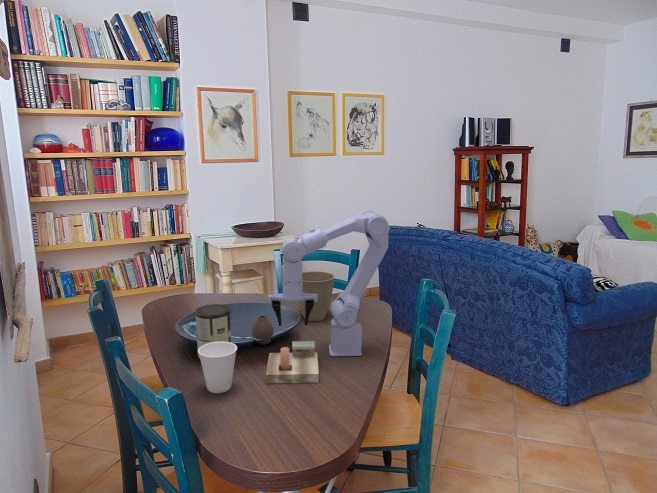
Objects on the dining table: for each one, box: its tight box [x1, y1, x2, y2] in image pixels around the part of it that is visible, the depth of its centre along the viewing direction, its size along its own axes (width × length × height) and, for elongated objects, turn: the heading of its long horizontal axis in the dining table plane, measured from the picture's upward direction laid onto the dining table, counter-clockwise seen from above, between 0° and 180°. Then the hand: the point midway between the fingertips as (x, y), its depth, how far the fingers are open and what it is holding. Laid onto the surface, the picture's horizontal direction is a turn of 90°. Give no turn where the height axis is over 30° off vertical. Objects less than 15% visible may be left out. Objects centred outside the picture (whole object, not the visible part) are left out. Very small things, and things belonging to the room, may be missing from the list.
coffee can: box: [194, 303, 232, 359], centre depth 148 cm, size 10×10×14 cm
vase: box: [251, 314, 275, 346], centre depth 157 cm, size 7×7×9 cm
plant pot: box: [297, 270, 336, 322], centre depth 179 cm, size 15×15×16 cm
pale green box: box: [291, 340, 316, 356], centre depth 142 cm, size 6×4×6 cm, turn 93°
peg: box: [280, 346, 290, 371], centre depth 134 cm, size 2×2×8 cm
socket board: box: [265, 351, 320, 385], centre depth 138 cm, size 14×14×2 cm
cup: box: [197, 341, 238, 394], centre depth 127 cm, size 10×10×11 cm
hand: (293, 324), depth 146 cm, fingers open, 7 cm apart
